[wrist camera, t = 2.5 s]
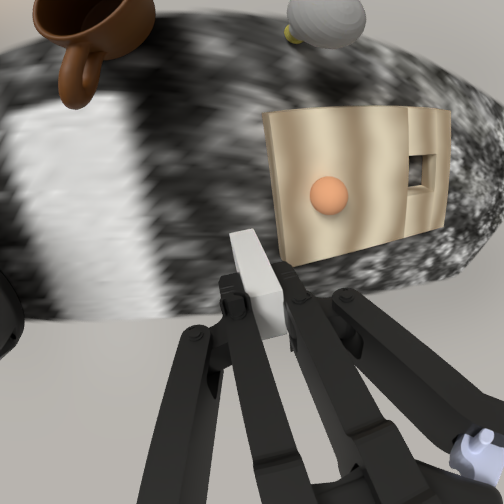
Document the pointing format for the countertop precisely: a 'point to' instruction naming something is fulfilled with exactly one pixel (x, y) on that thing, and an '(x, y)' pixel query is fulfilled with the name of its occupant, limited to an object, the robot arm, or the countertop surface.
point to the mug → (91, 38)
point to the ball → (329, 195)
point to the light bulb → (325, 22)
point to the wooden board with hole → (356, 175)
